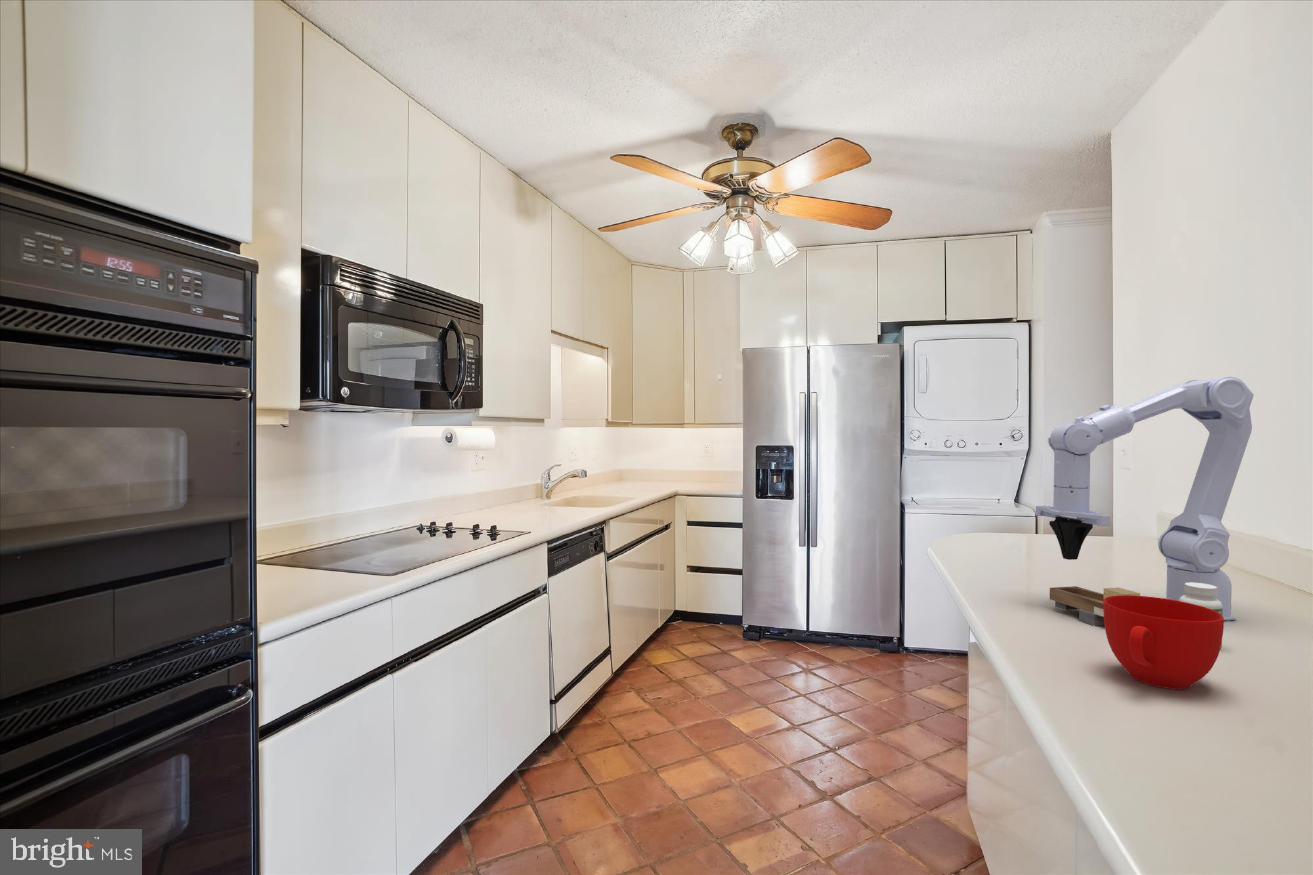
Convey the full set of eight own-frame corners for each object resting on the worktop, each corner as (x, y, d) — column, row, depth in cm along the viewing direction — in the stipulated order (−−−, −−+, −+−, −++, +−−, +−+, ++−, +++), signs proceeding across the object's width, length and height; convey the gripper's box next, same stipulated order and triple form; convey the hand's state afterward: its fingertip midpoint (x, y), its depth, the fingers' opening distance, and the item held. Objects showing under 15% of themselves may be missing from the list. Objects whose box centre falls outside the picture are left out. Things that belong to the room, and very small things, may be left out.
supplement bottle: (1185, 637, 106) (1186, 579, 106) (1227, 646, 101) (1228, 586, 101) (1172, 642, 103) (1173, 583, 103) (1215, 652, 98) (1216, 590, 98)
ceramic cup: (1076, 682, 86) (1077, 608, 86) (1119, 656, 96) (1121, 590, 96) (1198, 717, 76) (1200, 634, 76) (1233, 683, 86) (1235, 610, 86)
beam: (1077, 607, 123) (1077, 586, 122) (1166, 636, 106) (1166, 611, 106) (1047, 609, 121) (1047, 587, 121) (1132, 638, 104) (1132, 613, 104)
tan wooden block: (1118, 605, 112) (1118, 587, 112) (1139, 611, 108) (1140, 593, 108) (1103, 606, 112) (1103, 588, 112) (1124, 612, 108) (1125, 594, 108)
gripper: (1023, 483, 126) (1022, 552, 126) (1088, 491, 112) (1086, 567, 112) (1053, 483, 128) (1051, 550, 128) (1120, 490, 114) (1119, 566, 114)
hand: (1070, 558), depth 120 cm, fingers closed
